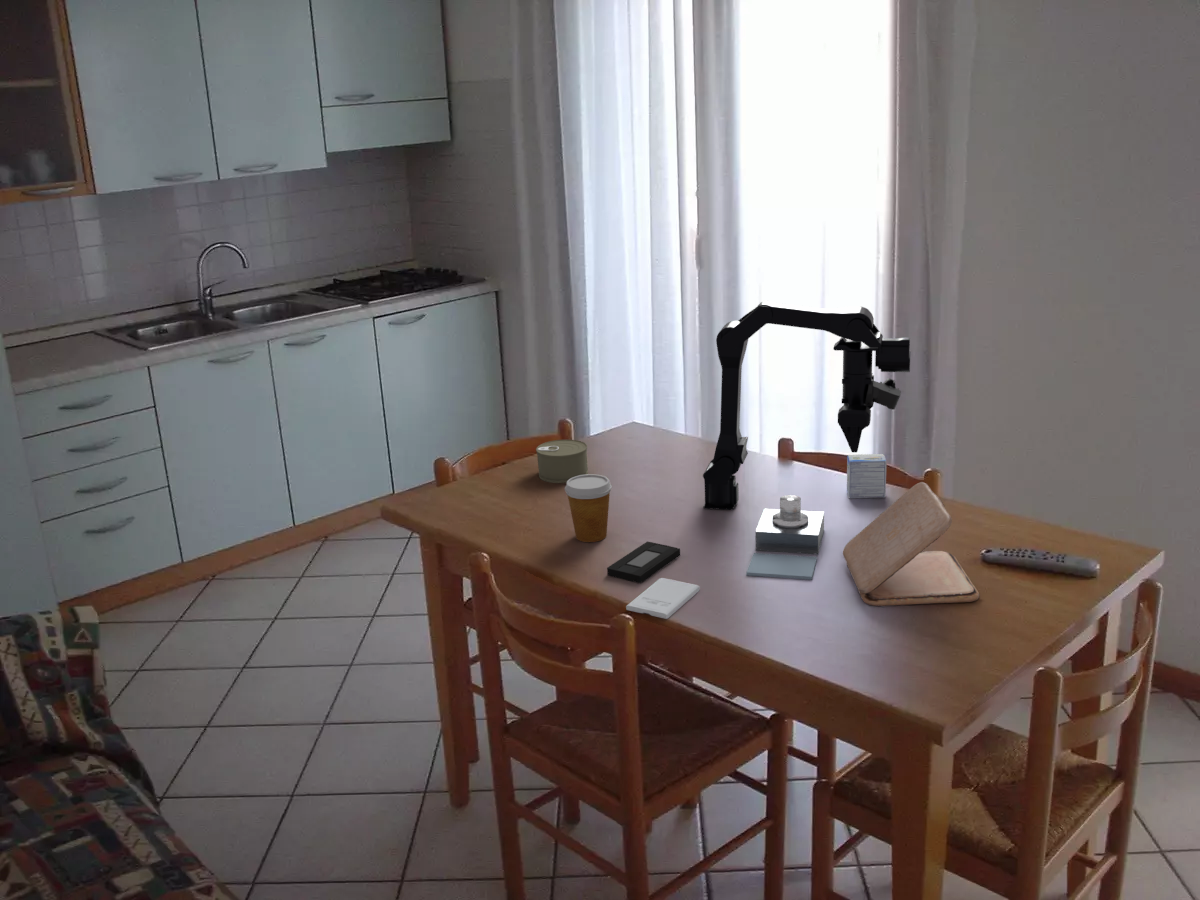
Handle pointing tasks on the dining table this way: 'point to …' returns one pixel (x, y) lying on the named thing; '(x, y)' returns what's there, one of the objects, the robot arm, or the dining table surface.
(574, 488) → the disposable coffee cup
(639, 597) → the external hard drive
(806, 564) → the mat
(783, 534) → the frame
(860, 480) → the medicine box
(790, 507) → the silver door knob
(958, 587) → the case
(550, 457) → the can
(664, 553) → the vhs tape
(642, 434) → the dining table surface
